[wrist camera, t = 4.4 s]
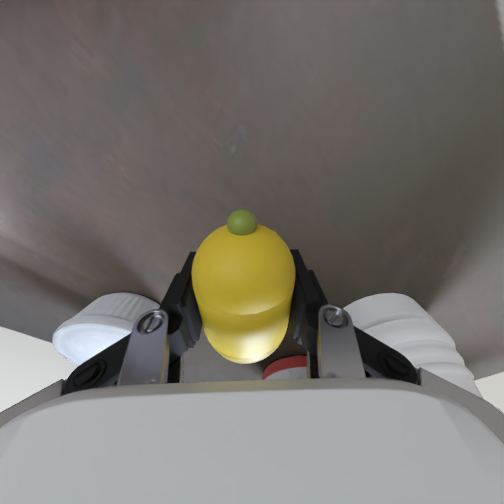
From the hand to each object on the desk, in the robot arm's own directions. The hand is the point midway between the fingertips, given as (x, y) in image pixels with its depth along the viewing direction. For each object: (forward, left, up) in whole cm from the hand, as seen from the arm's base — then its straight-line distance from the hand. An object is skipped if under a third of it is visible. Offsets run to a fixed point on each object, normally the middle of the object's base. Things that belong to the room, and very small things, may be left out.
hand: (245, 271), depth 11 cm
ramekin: (+19, -7, -8) cm, 22 cm away
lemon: (0, 0, 0) cm, 0 cm away
